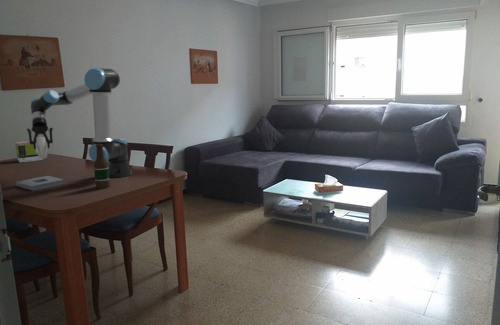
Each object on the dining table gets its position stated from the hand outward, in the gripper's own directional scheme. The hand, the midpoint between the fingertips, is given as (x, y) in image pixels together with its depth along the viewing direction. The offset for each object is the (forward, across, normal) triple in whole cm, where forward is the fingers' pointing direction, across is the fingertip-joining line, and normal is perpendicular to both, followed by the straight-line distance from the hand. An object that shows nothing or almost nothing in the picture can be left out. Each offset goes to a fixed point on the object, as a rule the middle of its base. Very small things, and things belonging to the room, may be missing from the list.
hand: (42, 152), depth 218 cm
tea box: (-47, +10, -74) cm, 88 cm away
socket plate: (+14, +2, -11) cm, 18 cm away
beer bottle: (+30, -28, +5) cm, 42 cm away
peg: (0, 0, -5) cm, 5 cm away
